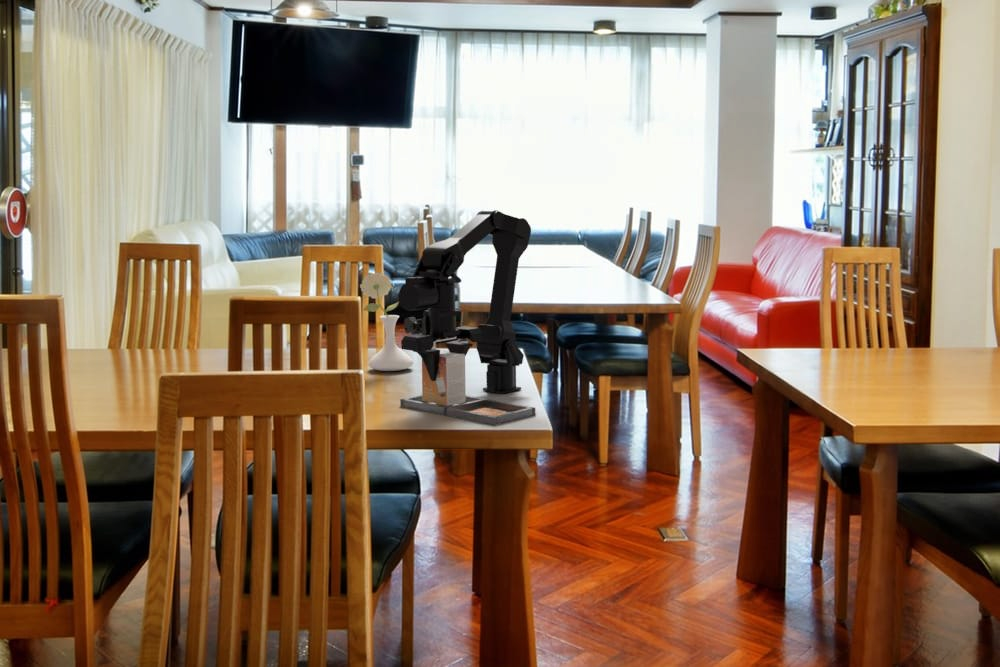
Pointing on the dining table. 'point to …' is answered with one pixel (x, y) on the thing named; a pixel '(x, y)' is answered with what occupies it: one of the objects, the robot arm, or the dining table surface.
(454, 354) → the small box
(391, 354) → the flower in vase
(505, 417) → the pocket rack
